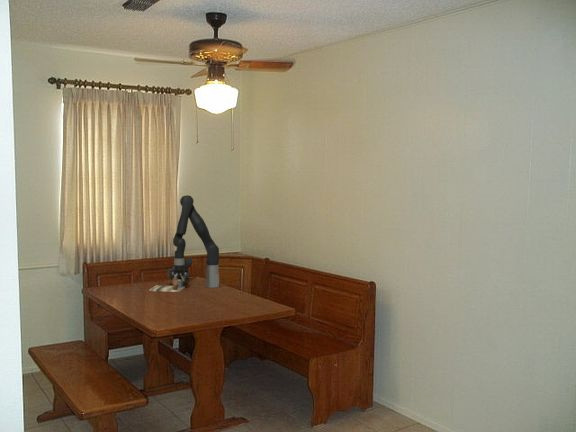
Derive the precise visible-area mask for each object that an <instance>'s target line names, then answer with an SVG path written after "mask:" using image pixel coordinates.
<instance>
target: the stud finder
mask: <svg viewBox="0 0 576 432" xmlns="http://www.w3.org/2000/svg"><path fill="white" fill-rule="evenodd" d="M182 287H183V280H182V279H178V278H177V288H182Z"/></svg>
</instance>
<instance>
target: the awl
mask: <svg viewBox="0 0 576 432" xmlns="http://www.w3.org/2000/svg"><path fill="white" fill-rule="evenodd" d="M177 279H178V278H176V275H174V278H173V279H172V280H171V281H172V285H171V286H172V290H177Z"/></svg>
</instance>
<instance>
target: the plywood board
mask: <svg viewBox="0 0 576 432" xmlns="http://www.w3.org/2000/svg"><path fill="white" fill-rule="evenodd" d="M184 289H186V286H183V287H182V288H177V290H172V285H155V286H153V287H151V288H150V289H149V292H165V293H166V292H168V293H169V292H173V293H174V292H175V293H176V292H177V293H180V292H182V291H183V290H184Z"/></svg>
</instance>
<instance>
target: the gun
mask: <svg viewBox="0 0 576 432" xmlns="http://www.w3.org/2000/svg"><path fill="white" fill-rule="evenodd" d="M193 263H194V261H193V259H192V258H191V257H188V256H187V257H186V258H184V271H185V272H186V273H189V274H188V279H189V278H190V276H191V274H190V271H189V268H191V267H192V264H193ZM166 272H167V274H166V277H167V276H168V277H171V276H170V273H171V272H174V265H173V267H172V268H168V269H167V271H166ZM174 275H175V274H173V278H174ZM184 278H185V279H186V275H184ZM177 279H182V278H180V277H177ZM185 283H187V281H185Z"/></svg>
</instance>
